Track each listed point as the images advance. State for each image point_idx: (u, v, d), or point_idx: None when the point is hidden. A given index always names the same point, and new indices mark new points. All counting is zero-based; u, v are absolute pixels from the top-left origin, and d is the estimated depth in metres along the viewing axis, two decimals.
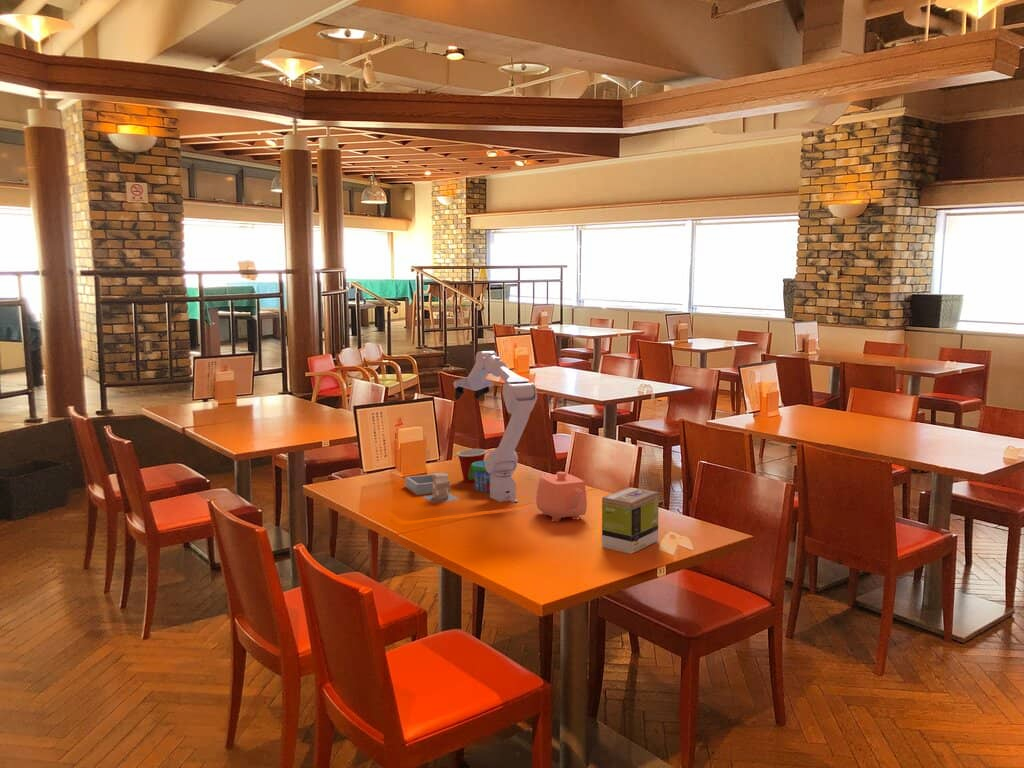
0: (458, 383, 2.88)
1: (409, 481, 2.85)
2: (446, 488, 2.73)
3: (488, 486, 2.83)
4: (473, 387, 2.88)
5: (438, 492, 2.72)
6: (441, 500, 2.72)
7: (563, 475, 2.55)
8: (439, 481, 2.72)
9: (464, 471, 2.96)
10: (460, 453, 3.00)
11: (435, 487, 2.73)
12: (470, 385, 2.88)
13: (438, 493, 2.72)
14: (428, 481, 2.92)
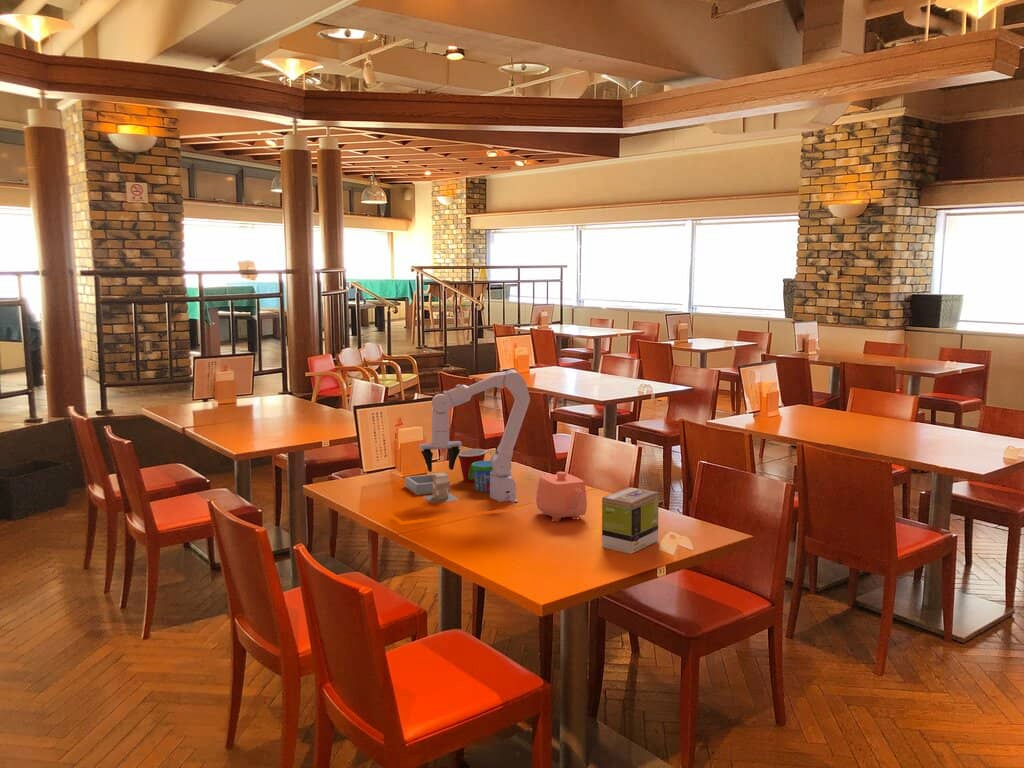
0: (423, 445, 2.70)
1: (409, 481, 2.85)
2: (446, 488, 2.73)
3: (488, 486, 2.83)
4: (439, 443, 2.70)
5: (438, 492, 2.72)
6: (441, 500, 2.72)
7: (563, 475, 2.55)
8: (439, 481, 2.72)
9: (464, 471, 2.96)
10: (460, 453, 3.00)
11: (435, 487, 2.73)
12: (436, 442, 2.70)
13: (438, 493, 2.72)
14: (428, 481, 2.92)
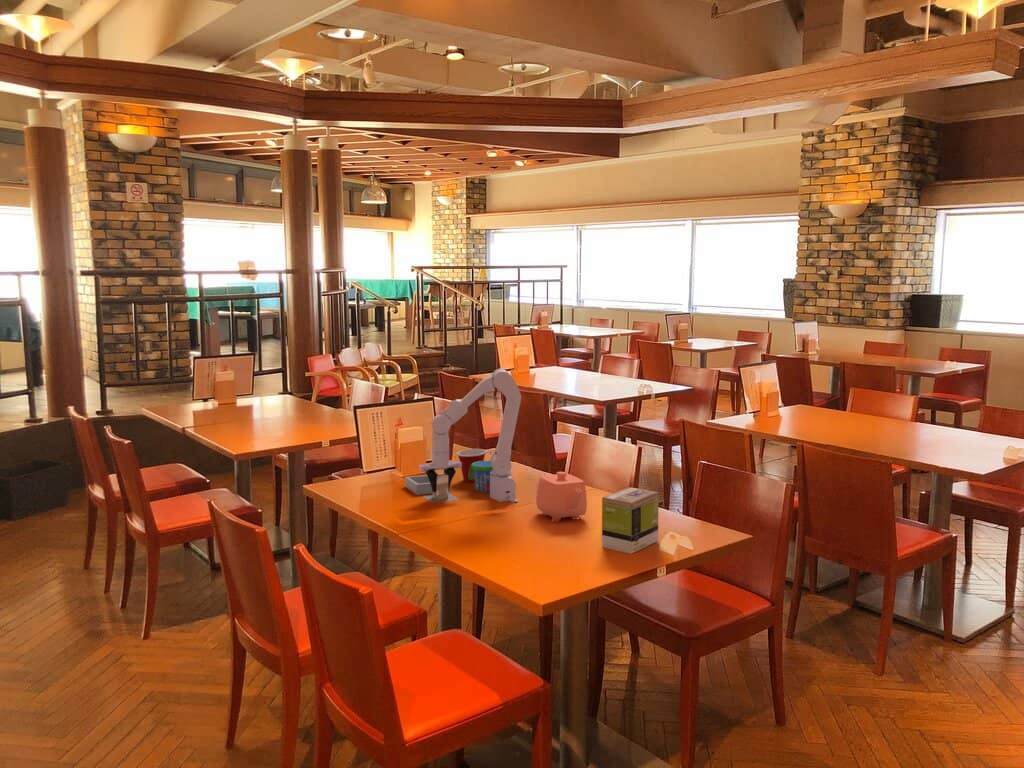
0: None
1: (409, 481, 2.85)
2: (446, 488, 2.73)
3: (488, 486, 2.83)
4: (439, 464, 2.71)
5: (438, 492, 2.72)
6: (441, 500, 2.72)
7: (563, 475, 2.55)
8: (439, 481, 2.72)
9: (464, 471, 2.96)
10: (460, 453, 3.00)
11: None
12: (436, 463, 2.71)
13: (438, 493, 2.72)
14: (428, 481, 2.92)
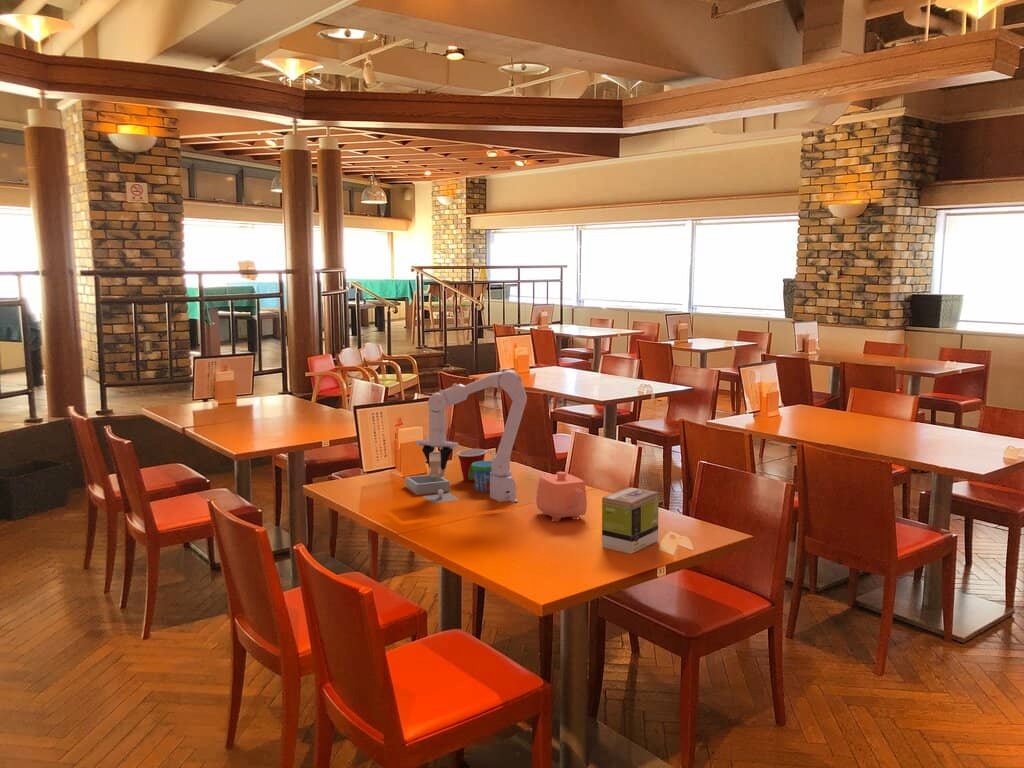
0: None
1: (409, 481, 2.85)
2: (438, 467, 2.74)
3: (488, 486, 2.83)
4: (430, 441, 2.73)
5: (431, 469, 2.75)
6: (441, 500, 2.72)
7: (563, 475, 2.55)
8: (432, 459, 2.74)
9: (464, 471, 2.96)
10: (460, 453, 3.00)
11: None
12: (429, 440, 2.74)
13: (430, 470, 2.75)
14: (428, 481, 2.92)
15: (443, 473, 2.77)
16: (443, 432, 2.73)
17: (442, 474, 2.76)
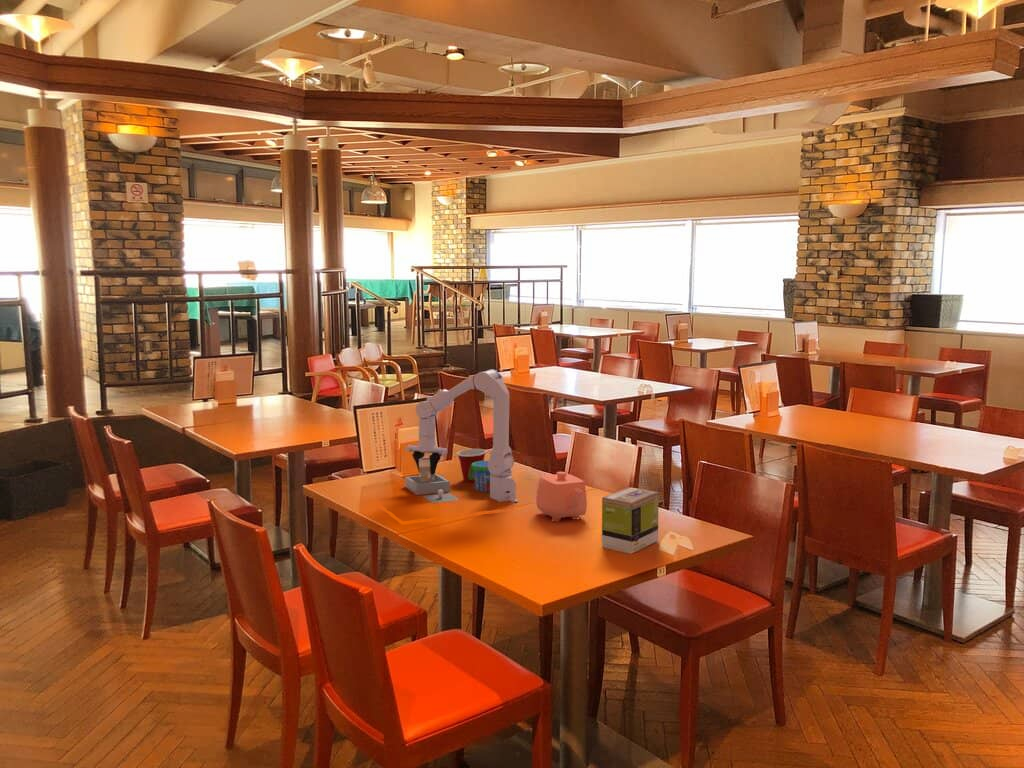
0: (410, 446, 2.87)
1: (409, 481, 2.85)
2: (427, 472, 2.83)
3: (488, 486, 2.83)
4: (420, 447, 2.83)
5: (420, 474, 2.84)
6: (441, 500, 2.72)
7: (563, 475, 2.55)
8: (421, 464, 2.84)
9: (464, 471, 2.96)
10: (460, 453, 3.00)
11: None
12: (419, 446, 2.84)
13: (420, 475, 2.84)
14: None
15: (432, 478, 2.86)
16: (432, 438, 2.83)
17: (431, 479, 2.85)
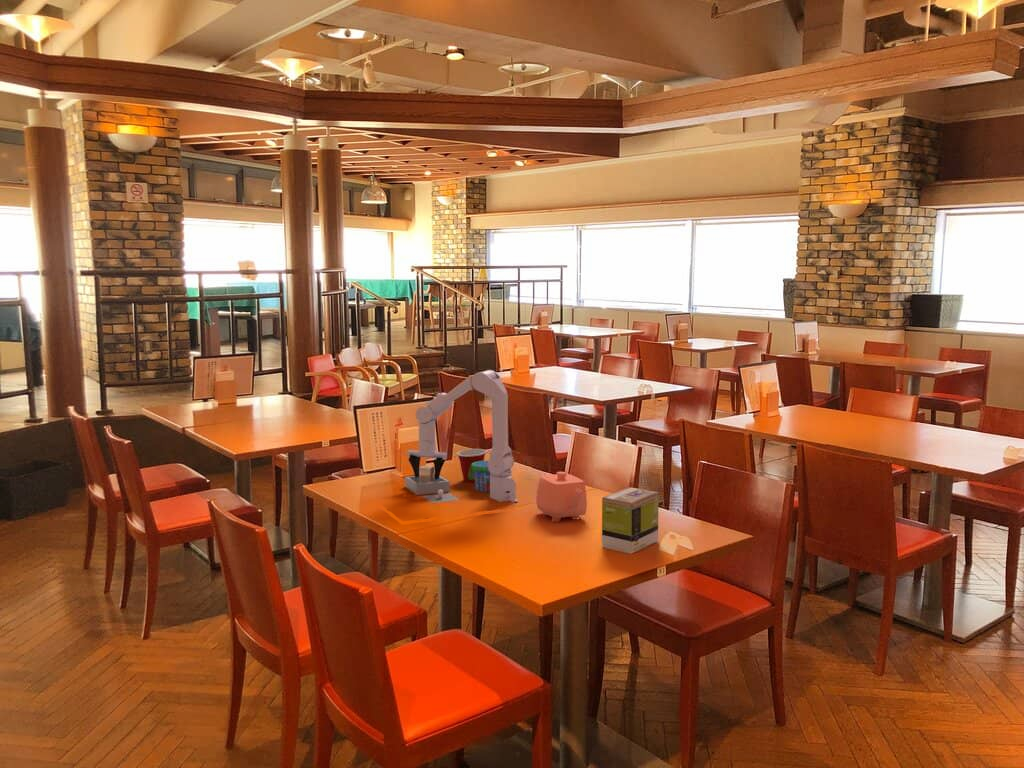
0: (411, 451, 2.87)
1: (409, 481, 2.85)
2: (428, 481, 2.84)
3: (488, 486, 2.83)
4: (420, 451, 2.83)
5: None
6: (441, 500, 2.72)
7: (563, 475, 2.55)
8: (421, 473, 2.84)
9: (464, 471, 2.96)
10: (460, 453, 3.00)
11: None
12: (419, 450, 2.84)
13: None
14: None
15: None
16: (432, 443, 2.83)
17: None
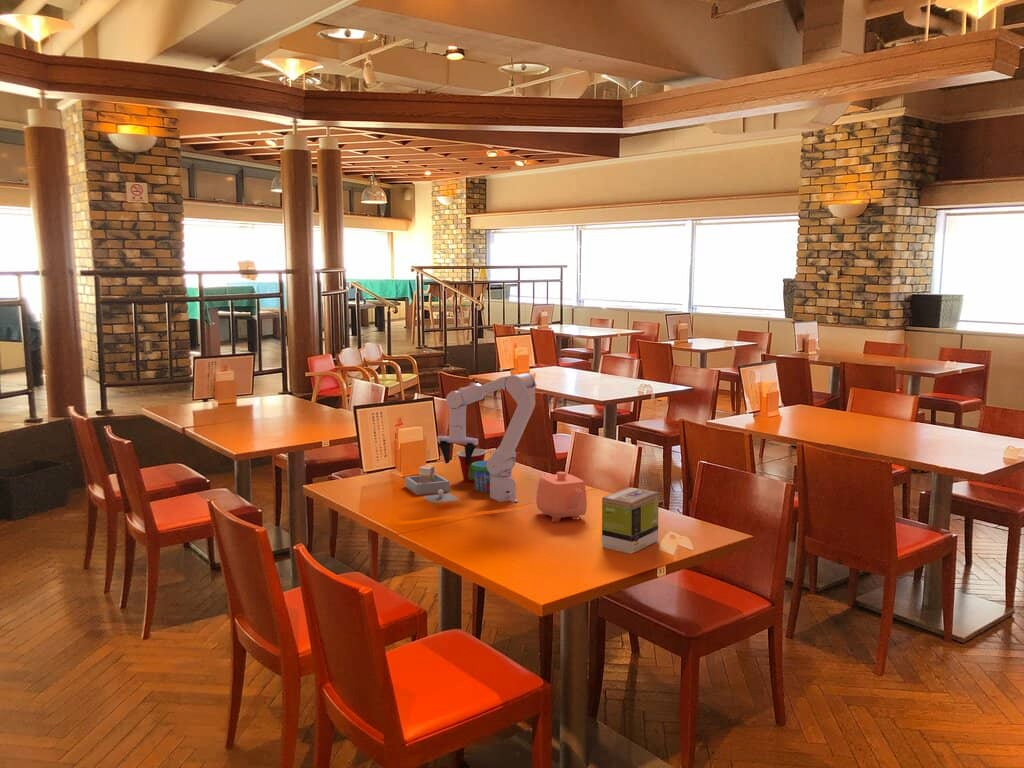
0: None
1: (409, 481, 2.85)
2: (428, 481, 2.84)
3: (488, 486, 2.83)
4: (451, 437, 2.81)
5: None
6: (441, 500, 2.72)
7: (563, 475, 2.55)
8: (421, 473, 2.84)
9: (464, 471, 2.96)
10: (460, 453, 3.00)
11: None
12: (449, 436, 2.82)
13: None
14: None
15: None
16: (463, 428, 2.81)
17: None
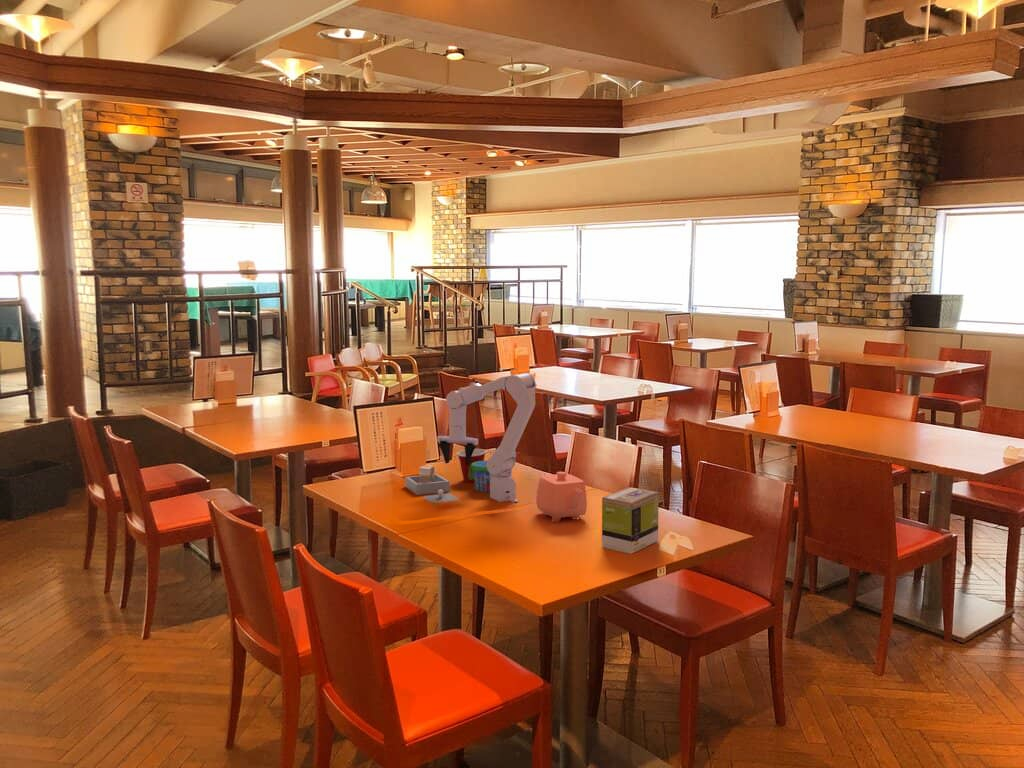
0: None
1: (409, 481, 2.85)
2: (428, 481, 2.84)
3: (488, 486, 2.83)
4: (451, 437, 2.81)
5: None
6: (441, 500, 2.72)
7: (563, 475, 2.55)
8: (421, 473, 2.84)
9: (464, 471, 2.96)
10: (460, 453, 3.00)
11: None
12: (449, 436, 2.82)
13: None
14: None
15: None
16: (463, 428, 2.81)
17: None
